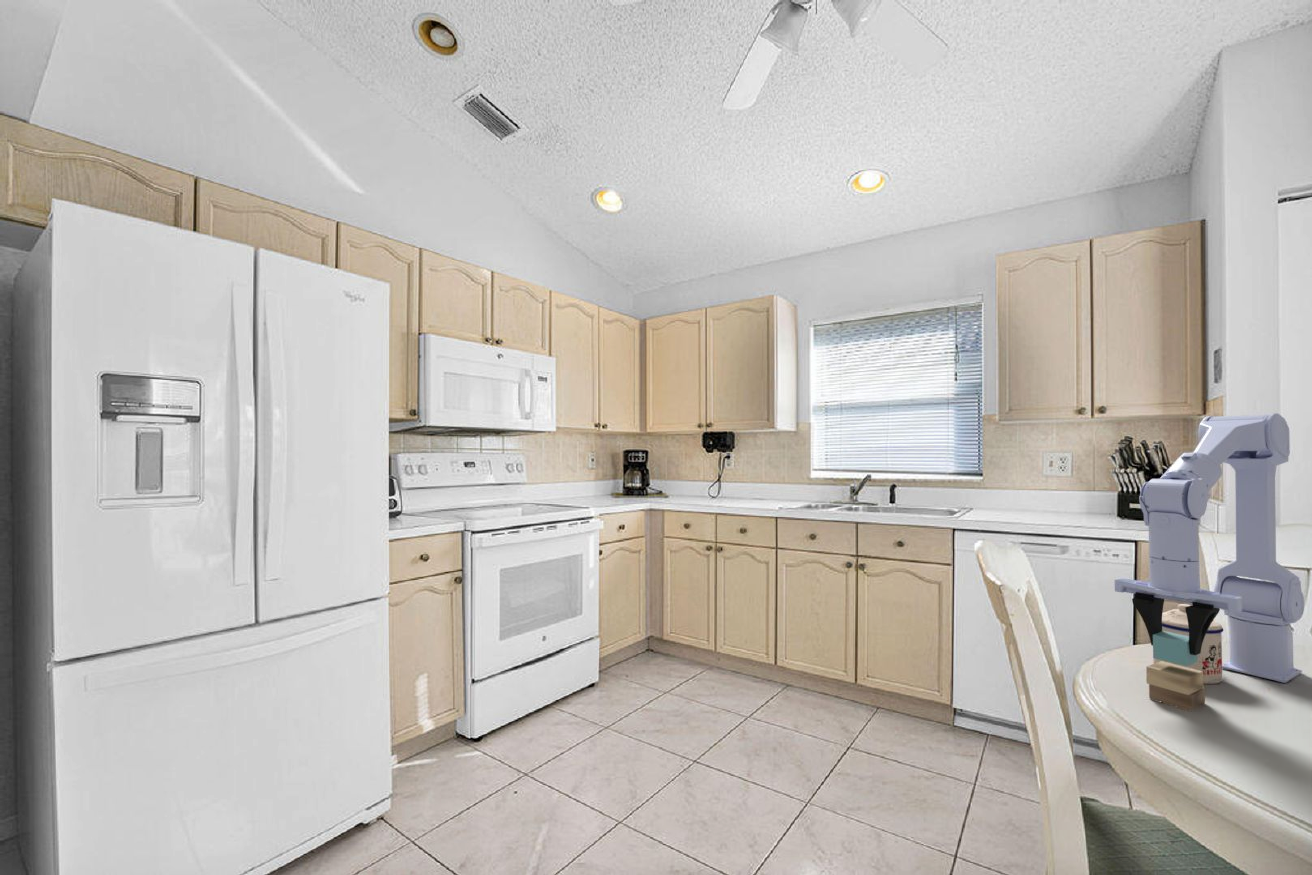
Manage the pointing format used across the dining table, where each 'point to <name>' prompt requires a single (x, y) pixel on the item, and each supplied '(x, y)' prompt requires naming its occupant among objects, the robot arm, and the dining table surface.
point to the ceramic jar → (1210, 647)
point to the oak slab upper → (1174, 677)
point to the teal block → (1173, 648)
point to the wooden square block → (1177, 697)
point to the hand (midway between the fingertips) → (1175, 649)
